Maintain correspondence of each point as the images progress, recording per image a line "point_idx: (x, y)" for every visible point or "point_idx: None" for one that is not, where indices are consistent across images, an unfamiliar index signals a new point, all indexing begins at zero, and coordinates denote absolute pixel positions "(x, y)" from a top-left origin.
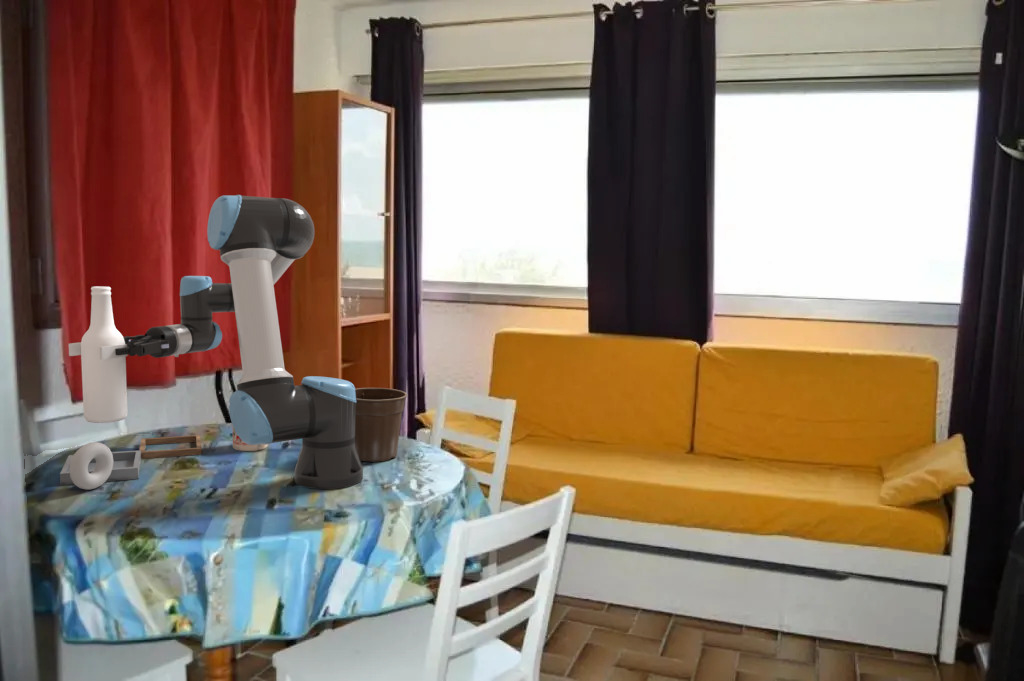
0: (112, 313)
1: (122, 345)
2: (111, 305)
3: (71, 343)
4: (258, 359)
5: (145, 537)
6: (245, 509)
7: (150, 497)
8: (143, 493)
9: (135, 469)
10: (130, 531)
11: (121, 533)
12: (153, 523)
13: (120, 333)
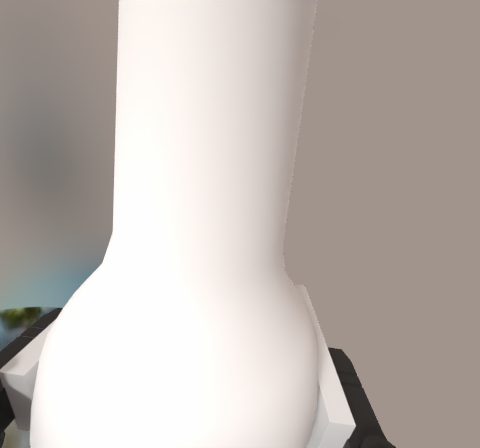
0: (116, 135)
1: (38, 338)
2: (119, 29)
3: (305, 292)
4: None
5: (12, 311)
6: None
7: (9, 425)
8: (26, 440)
9: None
10: (32, 318)
11: (42, 313)
12: (2, 339)
13: (59, 343)
